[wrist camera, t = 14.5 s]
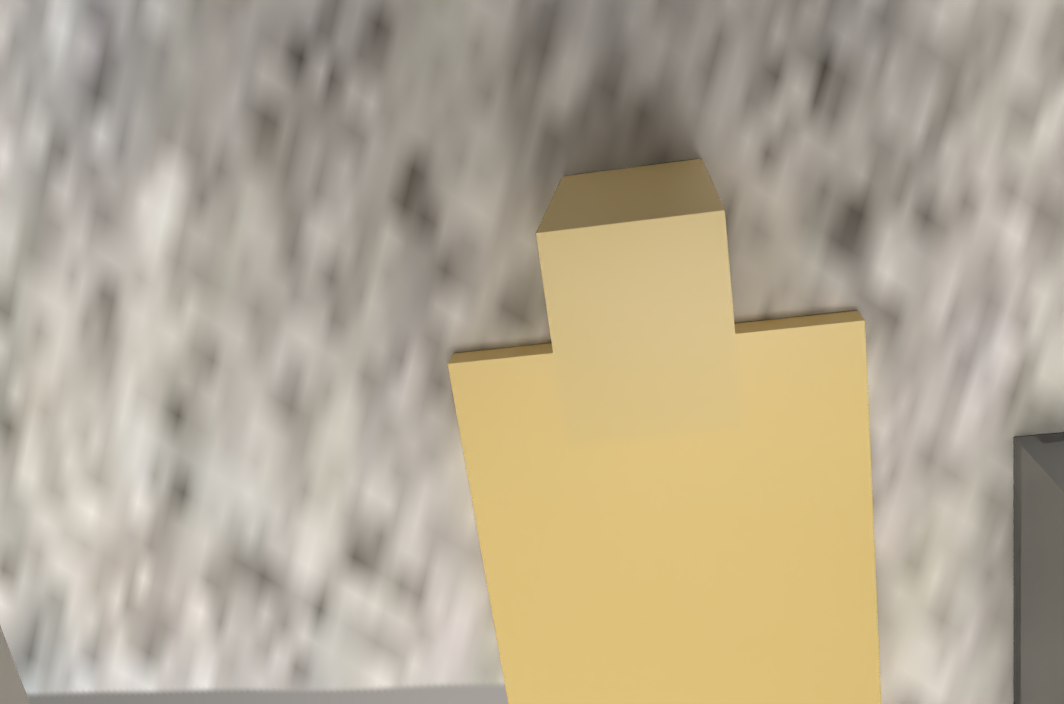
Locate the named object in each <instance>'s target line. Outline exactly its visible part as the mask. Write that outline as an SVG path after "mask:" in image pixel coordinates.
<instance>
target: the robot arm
mask: <svg viewBox="0 0 1064 704" xmlns="http://www.w3.org/2000/svg"><path fill="white" fill-rule="evenodd" d="M0 704H30V702H29V700H28V697H27V694H26V692H25V689H24V687H23V684H22V681H21V679H20V676H19V673H18V671H17V668H16V666H15V663H14V660H13V658H12V655H11V653H10V650H9V647H8V645H7V642H6V640H5V637H4V634H3V632H2V629H1V627H0Z"/></svg>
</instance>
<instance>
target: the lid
mask: <svg viewBox="0 0 1064 704" xmlns="http://www.w3.org/2000/svg"><path fill="white" fill-rule="evenodd" d="M536 238H537V245H538V252H539V259H540V266H541V273H542V280H543V287H544V294H545V301H546V308H547V315H548V322H549V329H550V336H551V342H552V343H547V344H538V345H528V346H519V347H509V348H500V349H491V350H481V351H472V352H462V353H453V355H452V357H451V359H450V361H449V363H448V368H449V374H450V380H451V385H452V391H453V396H454V402H455V408H456V413H457V419H458V424H459V430H460V436H461V441H462V447H463V452H464V458H465V464H466V469H467V475H468V480H469V486H470V492H471V497H472V503H473V508H474V514H475V519H476V525H477V531H478V536H479V542H480V547H481V553H482V559H483V564H484V570H485V575H486V581H487V587H488V592H489V598H490V603H491V609H492V615H493V620H494V626H495V631H496V637H497V643H498V648H499V654H500V659H501V665H502V670H503V676H504V682H505V687H506V693H507V698H508V704H881V688H880V664H879V641H878V617H877V593H876V570H875V546H874V522H873V499H872V475H871V451H870V428H869V404H868V380H867V357H866V333H865V320H864V318H863V317H862V316H861V314H860V313H859V312H858V311H849V312H840V313H830V314H821V315H811V316H802V317H792V318H783V319H774V320H764V321H755V322H745V323H736V324H734V313H733V301H732V289H731V277H730V265H729V254H728V242H727V230H726V218H725V209H724V207H723V205H722V203H721V201H720V198H719V196H718V194H717V192H716V189H715V187H714V185H713V183H712V181H711V178H710V176H709V174H708V172H707V169H706V167H705V165H704V163H703V161H702V158H701V159H694V160H686V161H678V162H671V163H663V164H655V165H647V166H640V167H632V168H624V169H617V170H609V171H601V172H593V173H586V174H578V175H570V176H563V177H562V179H561V181H560V183H559V185H558V187H557V189H556V191H555V193H554V196H553V198H552V200H551V202H550V204H549V206H548V208H547V210H546V213H545V215H544V217H543V219H542V221H541V223H540V225H539V227H538V230H537V232H536Z"/></svg>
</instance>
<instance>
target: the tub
mask: <svg viewBox="0 0 1064 704" xmlns="http://www.w3.org/2000/svg"><path fill="white" fill-rule="evenodd" d="M1014 704H1064V433H1055V434H1044V435H1033V436H1022V437H1014Z"/></svg>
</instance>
